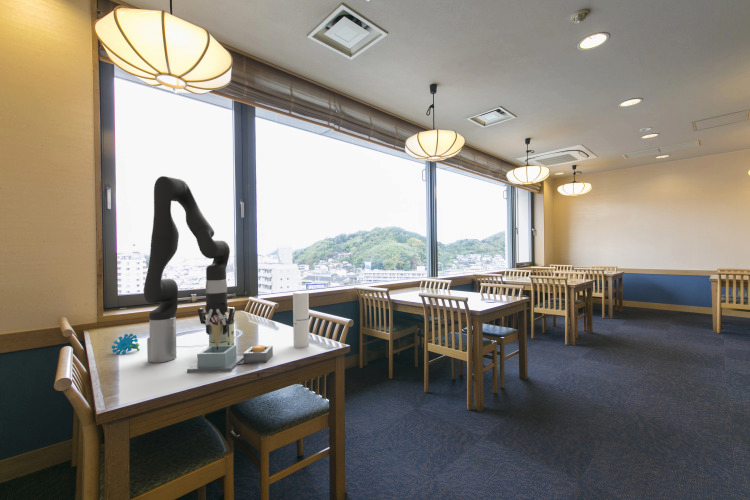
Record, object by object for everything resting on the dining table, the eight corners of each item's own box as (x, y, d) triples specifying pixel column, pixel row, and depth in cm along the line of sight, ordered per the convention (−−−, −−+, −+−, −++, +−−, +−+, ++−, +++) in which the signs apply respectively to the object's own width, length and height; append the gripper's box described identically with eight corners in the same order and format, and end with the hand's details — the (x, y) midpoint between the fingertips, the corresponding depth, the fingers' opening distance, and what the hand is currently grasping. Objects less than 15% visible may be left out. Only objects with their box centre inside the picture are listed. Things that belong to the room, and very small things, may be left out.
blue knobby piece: (105, 351, 140) (121, 331, 147) (112, 357, 144) (128, 337, 151) (128, 355, 139) (143, 334, 146) (135, 361, 143) (149, 341, 150)
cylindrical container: (305, 347, 147) (304, 293, 147) (290, 347, 149) (290, 293, 148) (311, 343, 154) (310, 291, 154) (297, 342, 156) (297, 291, 155)
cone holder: (187, 372, 119) (187, 355, 119) (206, 359, 133) (205, 344, 133) (230, 371, 120) (230, 355, 120) (244, 358, 134) (244, 343, 134)
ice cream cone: (206, 351, 126) (205, 313, 125) (220, 347, 130) (219, 310, 130) (214, 353, 123) (214, 314, 122) (228, 349, 127) (227, 311, 127)
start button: (250, 356, 131) (250, 349, 131) (254, 352, 135) (254, 345, 135) (262, 356, 131) (262, 348, 131) (266, 352, 136) (266, 345, 135)
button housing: (243, 363, 128) (243, 353, 128) (251, 355, 137) (251, 346, 137) (266, 362, 129) (266, 352, 129) (272, 355, 138) (272, 345, 138)
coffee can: (209, 351, 144) (208, 319, 144) (234, 347, 148) (233, 317, 148) (208, 358, 135) (207, 324, 135) (235, 354, 139) (234, 322, 139)
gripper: (192, 292, 122) (193, 337, 123) (230, 292, 123) (231, 336, 123) (202, 290, 130) (203, 331, 130) (238, 289, 130) (239, 331, 130)
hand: (217, 333), depth 127 cm, fingers closed on ice cream cone, 5 cm apart
